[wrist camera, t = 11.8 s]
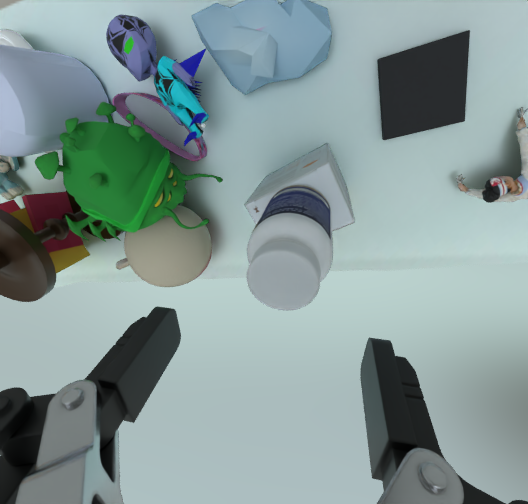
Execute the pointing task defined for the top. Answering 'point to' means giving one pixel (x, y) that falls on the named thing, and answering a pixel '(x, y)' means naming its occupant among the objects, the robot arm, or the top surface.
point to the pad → (424, 86)
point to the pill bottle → (291, 248)
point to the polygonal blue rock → (265, 40)
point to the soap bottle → (43, 99)
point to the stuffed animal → (4, 185)
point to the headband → (123, 111)
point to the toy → (34, 218)
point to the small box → (312, 174)
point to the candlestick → (34, 253)
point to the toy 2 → (169, 250)
